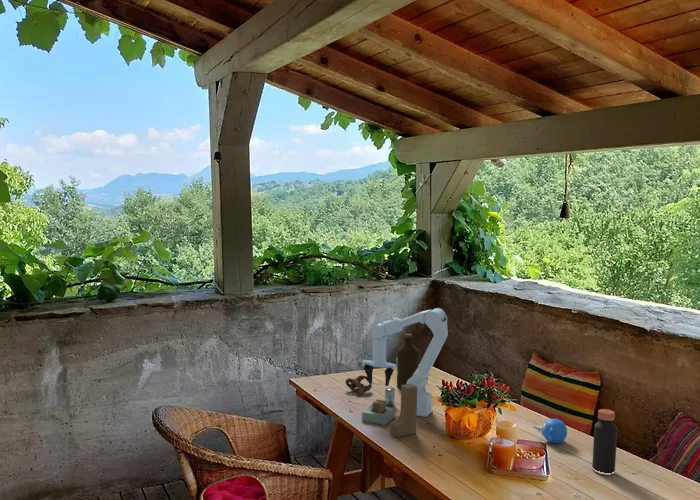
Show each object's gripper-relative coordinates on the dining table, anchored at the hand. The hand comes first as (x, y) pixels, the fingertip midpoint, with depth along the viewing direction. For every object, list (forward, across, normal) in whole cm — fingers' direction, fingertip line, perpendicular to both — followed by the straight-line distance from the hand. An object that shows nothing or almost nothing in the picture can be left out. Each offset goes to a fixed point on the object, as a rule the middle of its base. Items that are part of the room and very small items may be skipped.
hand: (378, 384), depth 254 cm
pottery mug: (+10, -15, +14) cm, 23 cm away
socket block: (+9, +6, -14) cm, 18 cm away
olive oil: (+10, +2, +30) cm, 32 cm away
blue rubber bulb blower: (+10, +70, -6) cm, 71 cm away
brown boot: (+10, +20, -24) cm, 33 cm away
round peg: (+9, +4, +3) cm, 11 cm away
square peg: (+10, +6, -14) cm, 18 cm away
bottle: (+10, +89, -24) cm, 93 cm away
